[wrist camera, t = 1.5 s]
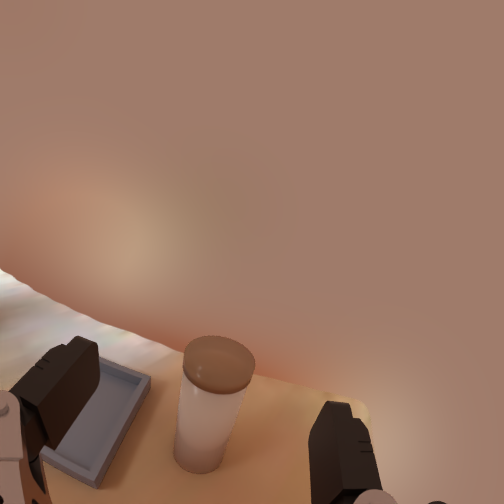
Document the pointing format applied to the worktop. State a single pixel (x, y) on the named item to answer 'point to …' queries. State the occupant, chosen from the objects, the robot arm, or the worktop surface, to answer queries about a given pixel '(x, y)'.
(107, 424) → the dish
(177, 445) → the canister
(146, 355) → the worktop surface
